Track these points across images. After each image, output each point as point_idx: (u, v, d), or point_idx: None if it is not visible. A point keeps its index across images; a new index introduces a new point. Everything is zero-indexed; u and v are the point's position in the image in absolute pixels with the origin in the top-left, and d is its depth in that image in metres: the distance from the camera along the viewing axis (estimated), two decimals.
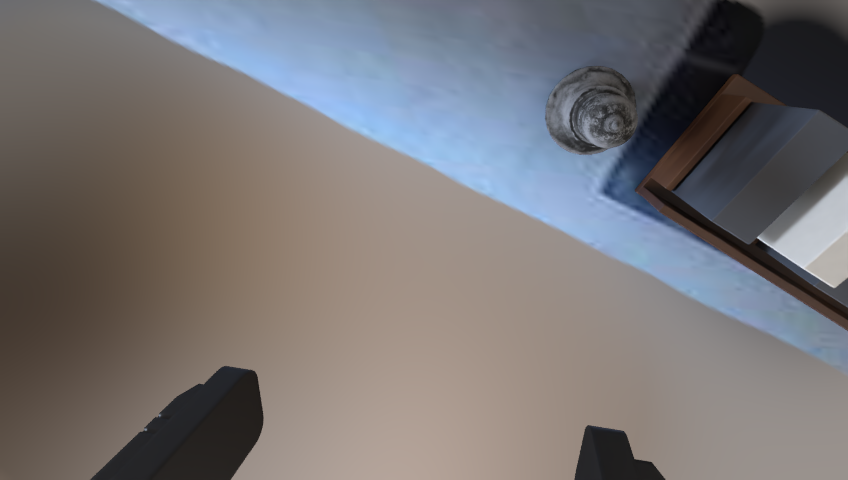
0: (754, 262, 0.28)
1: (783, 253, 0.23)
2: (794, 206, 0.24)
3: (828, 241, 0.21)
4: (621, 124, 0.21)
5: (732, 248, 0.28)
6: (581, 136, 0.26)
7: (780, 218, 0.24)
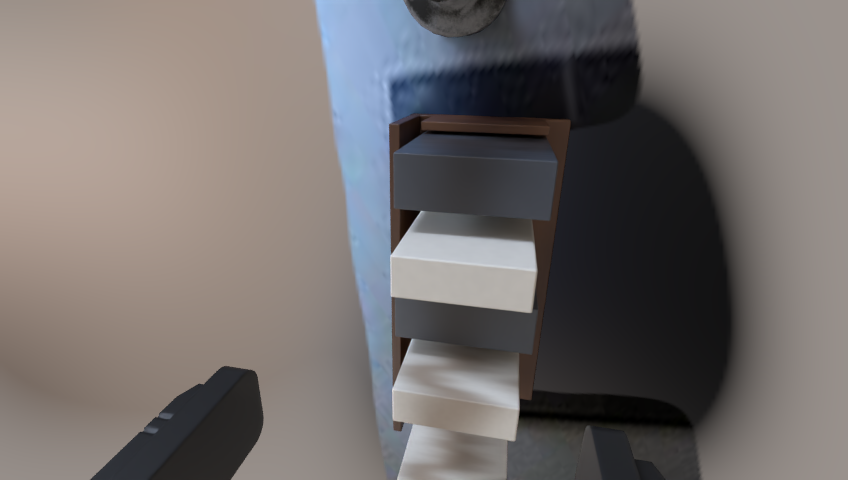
0: None
1: (402, 240, 0.19)
2: (460, 227, 0.21)
3: (429, 257, 0.17)
4: None
5: (398, 221, 0.24)
6: None
7: (442, 225, 0.21)
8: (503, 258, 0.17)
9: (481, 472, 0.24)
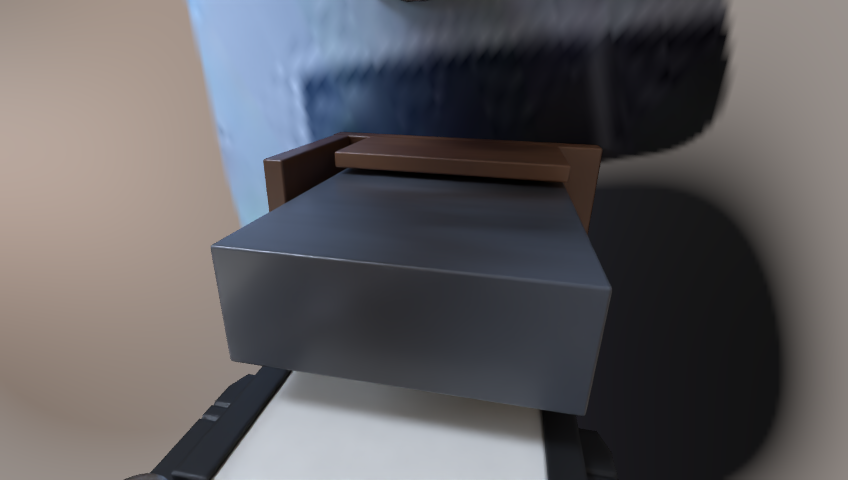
0: None
1: (243, 439, 0.08)
2: None
3: None
4: None
5: None
6: None
7: None
8: None
9: None
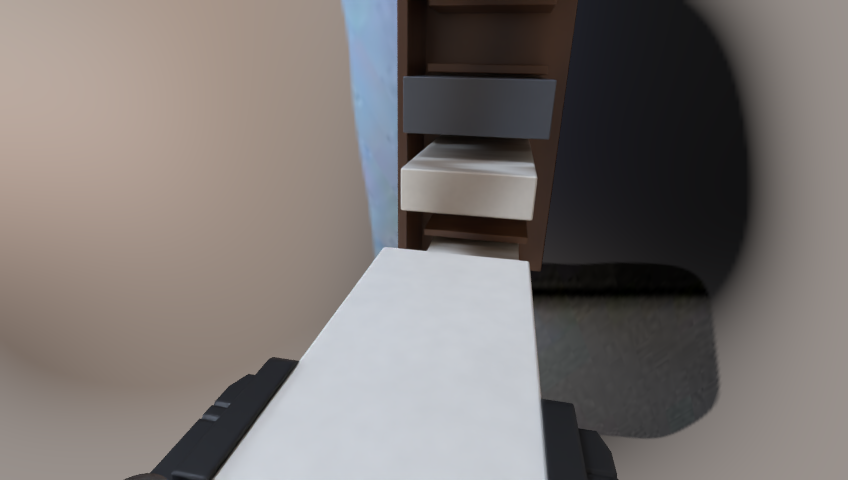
0: (406, 66, 0.24)
1: (243, 439, 0.08)
2: (389, 379, 0.10)
3: None
4: None
5: (406, 31, 0.23)
6: None
7: (355, 372, 0.10)
8: None
9: None
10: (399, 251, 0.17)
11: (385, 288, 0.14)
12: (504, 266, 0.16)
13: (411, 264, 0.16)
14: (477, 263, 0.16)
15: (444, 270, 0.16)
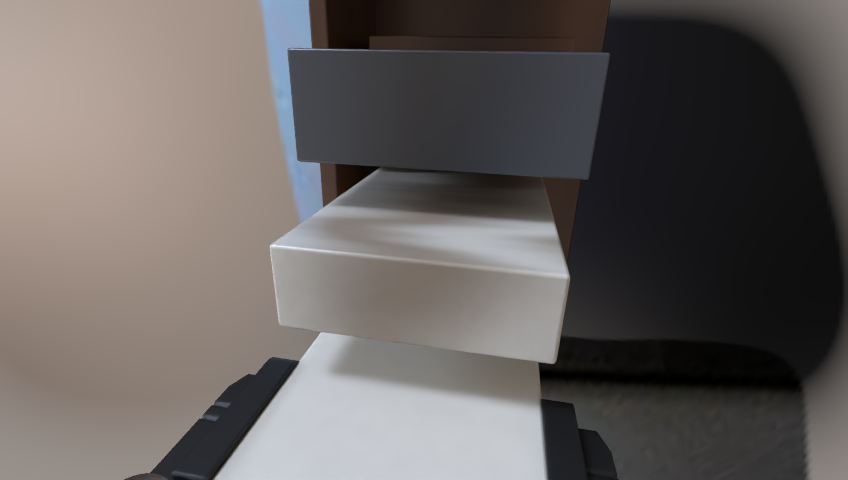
0: (325, 38, 0.13)
1: (243, 440, 0.08)
2: (390, 379, 0.10)
3: None
4: None
5: None
6: None
7: (355, 372, 0.10)
8: None
9: None
10: None
11: None
12: None
13: None
14: None
15: None
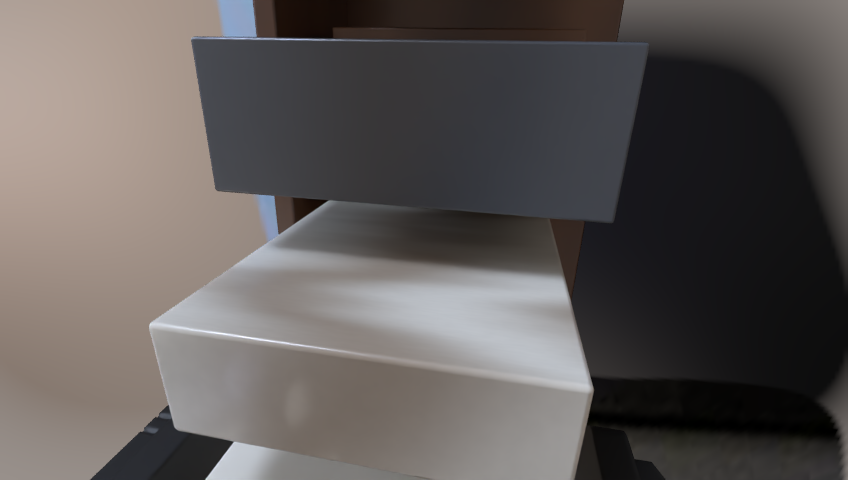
0: (273, 29, 0.11)
1: None
2: None
3: None
4: None
5: None
6: None
7: None
8: None
9: None
10: None
11: None
12: None
13: None
14: None
15: None
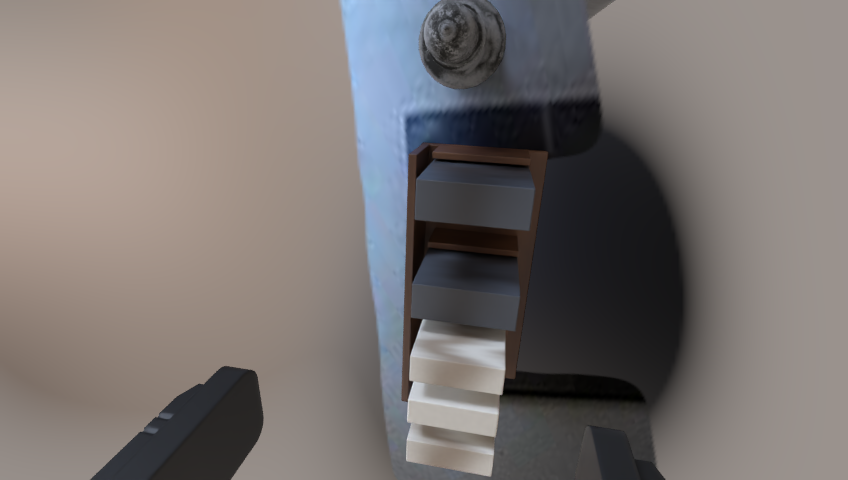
0: (412, 251, 0.32)
1: None
2: None
3: (432, 401, 0.28)
4: (448, 33, 0.21)
5: (413, 229, 0.31)
6: None
7: None
8: (478, 402, 0.28)
9: None
10: None
11: None
12: None
13: None
14: None
15: None
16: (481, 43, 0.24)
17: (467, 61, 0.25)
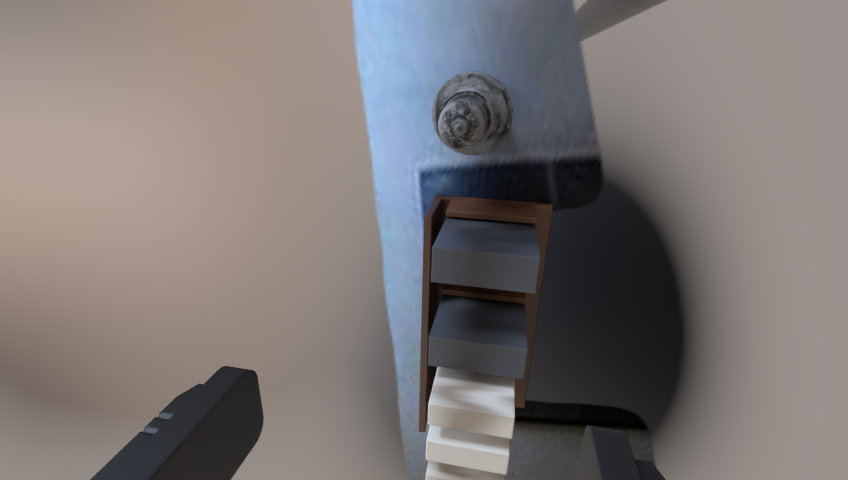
0: (428, 300, 0.34)
1: None
2: None
3: (449, 442, 0.31)
4: (461, 131, 0.23)
5: (428, 280, 0.34)
6: None
7: None
8: (490, 443, 0.31)
9: None
10: None
11: None
12: None
13: None
14: None
15: None
16: (490, 126, 0.27)
17: None
